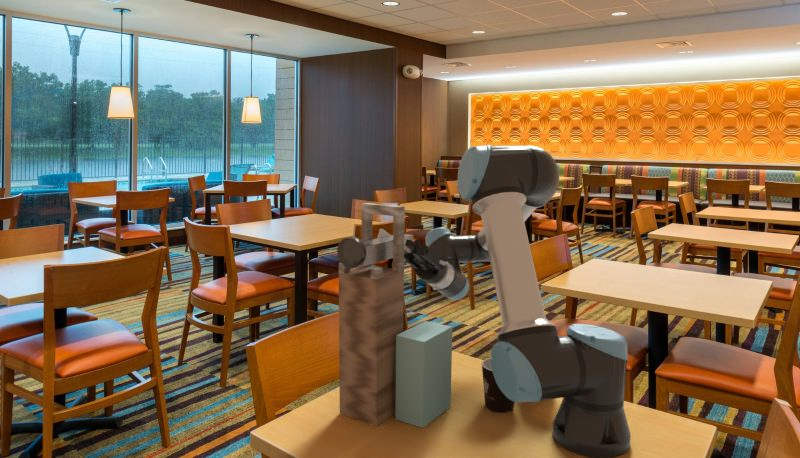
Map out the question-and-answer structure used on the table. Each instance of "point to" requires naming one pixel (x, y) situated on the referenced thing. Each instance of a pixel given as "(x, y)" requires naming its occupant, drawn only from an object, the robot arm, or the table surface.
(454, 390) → the table surface
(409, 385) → the teal pedestal
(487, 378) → the coffee mug
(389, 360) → the walnut stand
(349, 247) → the grey elongated piece
